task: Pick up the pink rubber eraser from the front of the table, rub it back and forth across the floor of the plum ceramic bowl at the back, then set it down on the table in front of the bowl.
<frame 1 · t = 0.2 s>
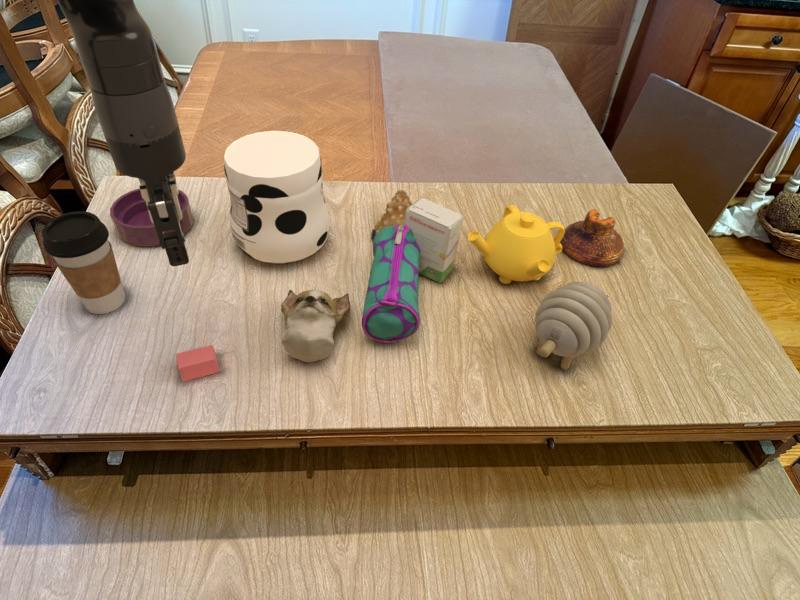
hand: (176, 243, 69), 18 cm above the table, tool pointing down, fingers open, 8 cm apart
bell: (590, 248, 102), on the table
pencil case: (391, 301, 89), on the table, touching ink box
ink box: (426, 267, 96), on the table, touching pencil case
toy sheep: (559, 347, 84), on the table
coffee cup: (106, 302, 86), on the table
eraser: (200, 369, 77), on the table
milk container: (283, 242, 99), on the table
bowl: (156, 225, 100), on the table
teapot: (511, 272, 96), on the table
ceramic sculpture: (313, 335, 83), on the table
seashell: (395, 230, 103), on the table
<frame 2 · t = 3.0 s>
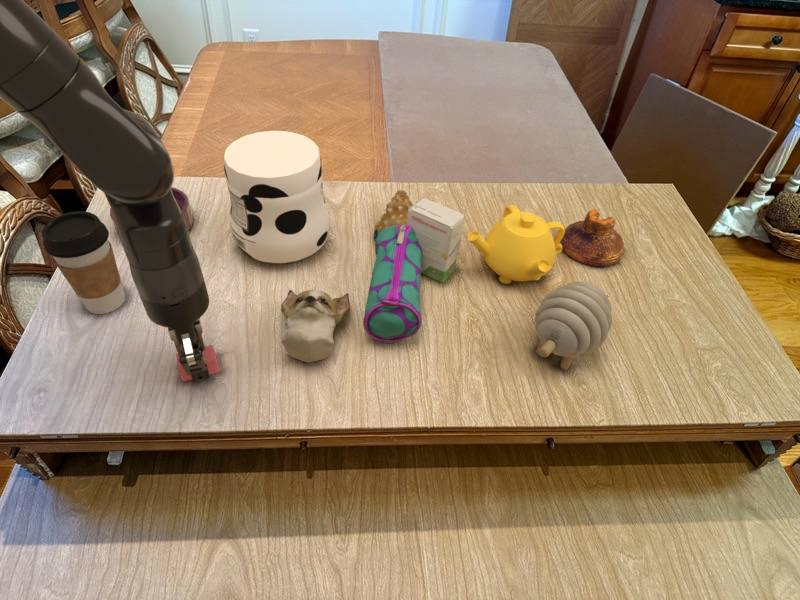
hand: (199, 369, 77), 0 cm above the table, tool pointing down, fingers closed on eraser, 2 cm apart
ink box: (428, 267, 96), on the table, touching pencil case
eraser: (200, 369, 77), on the table, touching gripper
everything else where it was.
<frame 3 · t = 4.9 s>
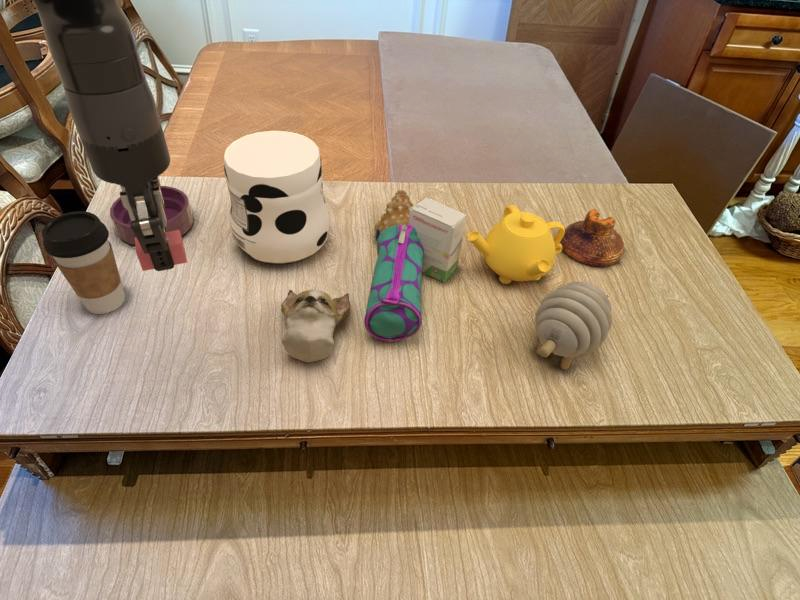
hand: (163, 259, 65), 19 cm above the table, tool pointing down, fingers closed on eraser, 2 cm apart
eraser: (164, 259, 65), point 19 cm above the table, touching gripper
everything else where it was.
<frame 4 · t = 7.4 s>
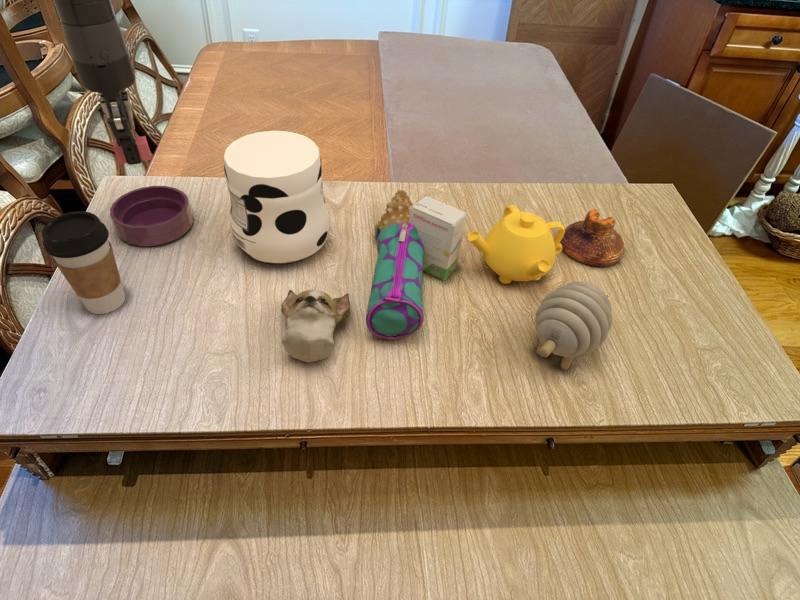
hand: (134, 157, 90), 14 cm above the table, tool pointing down, fingers closed on eraser, 2 cm apart
eraser: (135, 158, 90), point 14 cm above the table, touching gripper
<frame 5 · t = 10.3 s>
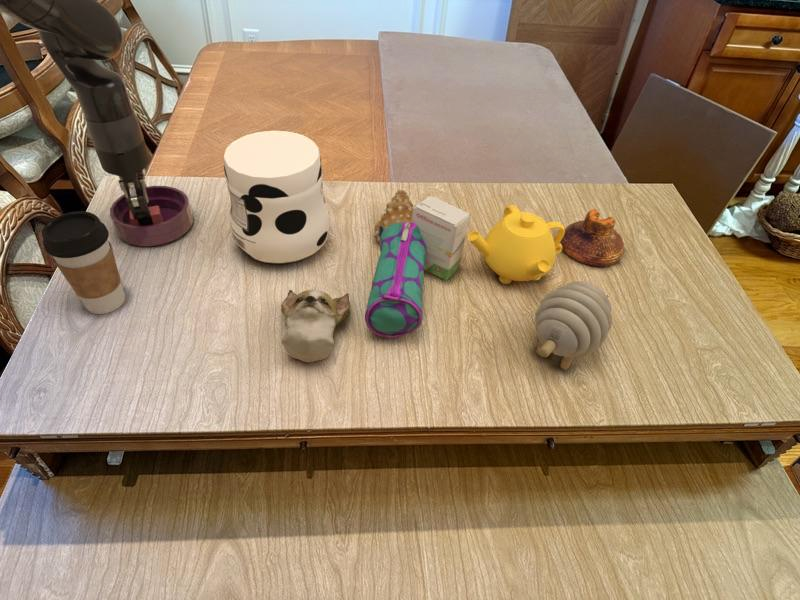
hand: (148, 225, 99), 1 cm above the table, tool pointing down, fingers closed on eraser, 2 cm apart
eraser: (149, 225, 99), point 1 cm above the table, touching gripper
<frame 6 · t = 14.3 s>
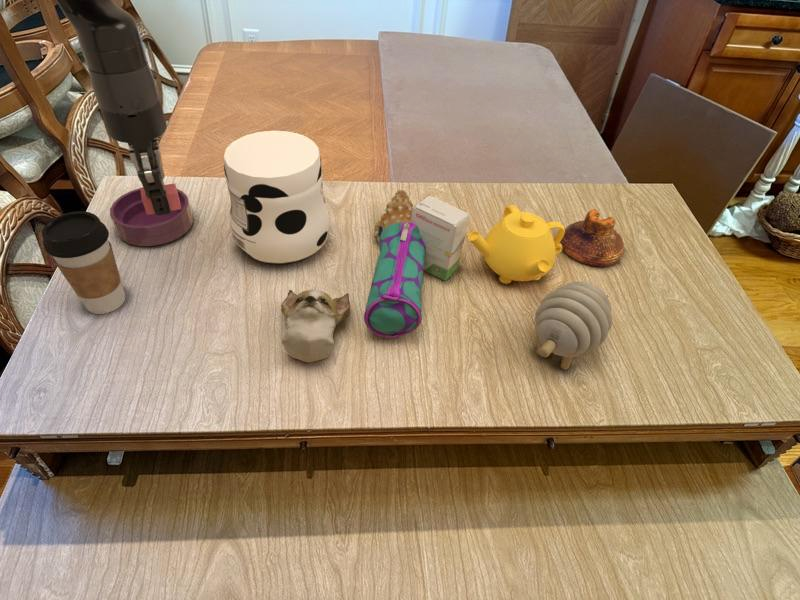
hand: (162, 207, 83), 13 cm above the table, tool pointing down, fingers closed on eraser, 2 cm apart
ink box: (432, 265, 96), on the table, touching pencil case
eraser: (163, 207, 83), point 13 cm above the table, touching gripper
when the fingers open (0 cm above the table, at t = 17.4 s): eraser stays where it is, on the table.
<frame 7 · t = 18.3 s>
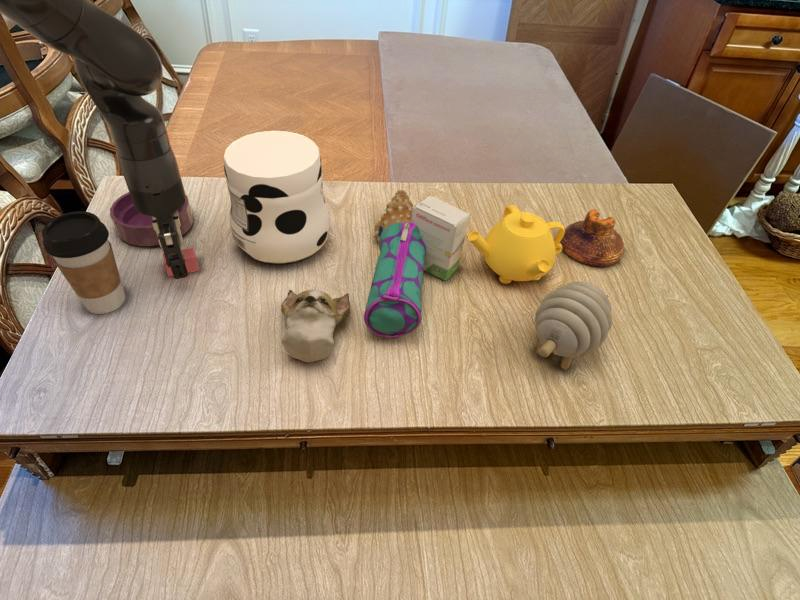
hand: (178, 261, 90), 2 cm above the table, tool pointing down, fingers open, 8 cm apart
ink box: (432, 265, 96), on the table, touching pencil case
eraser: (183, 268, 92), on the table
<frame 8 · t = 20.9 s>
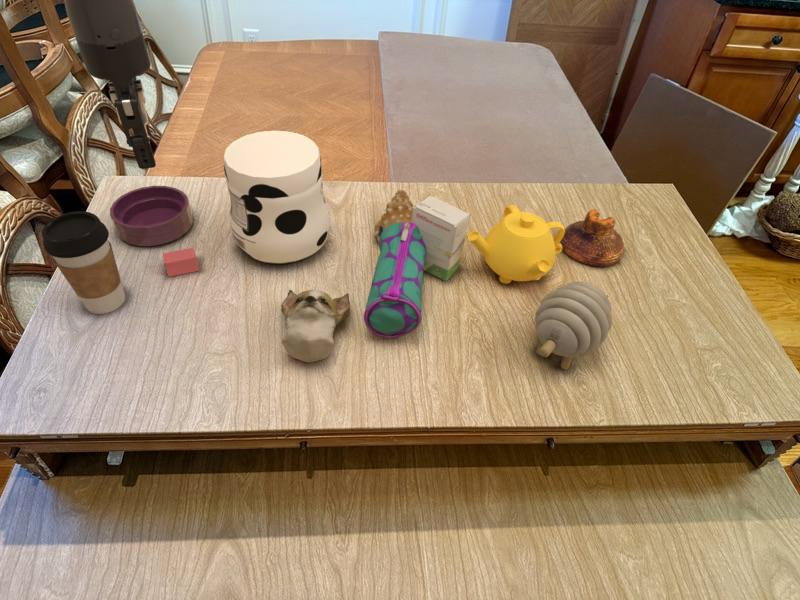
hand: (145, 152, 76), 22 cm above the table, tool pointing down, fingers open, 8 cm apart
ink box: (432, 265, 96), on the table, touching pencil case
at the end: eraser moved 23.1 cm from its start; eraser inside the target area on the table beside the bowl (0.2 cm from its centre), on the table; the gripper is holding nothing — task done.
